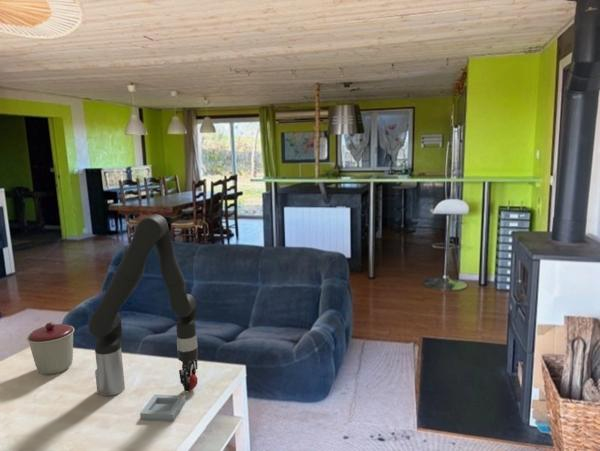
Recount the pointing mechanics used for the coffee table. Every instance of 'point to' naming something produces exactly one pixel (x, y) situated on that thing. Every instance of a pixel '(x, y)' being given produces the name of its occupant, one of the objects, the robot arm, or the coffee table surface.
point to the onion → (192, 381)
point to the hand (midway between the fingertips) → (190, 386)
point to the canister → (52, 347)
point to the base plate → (163, 407)
